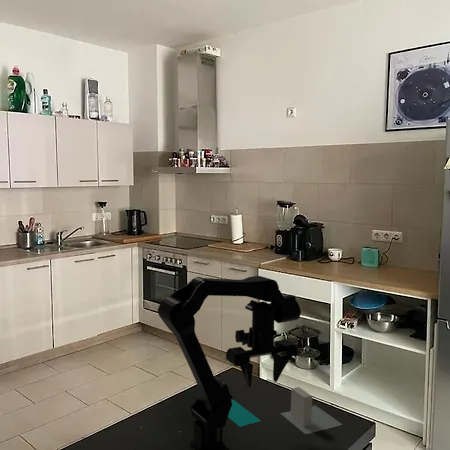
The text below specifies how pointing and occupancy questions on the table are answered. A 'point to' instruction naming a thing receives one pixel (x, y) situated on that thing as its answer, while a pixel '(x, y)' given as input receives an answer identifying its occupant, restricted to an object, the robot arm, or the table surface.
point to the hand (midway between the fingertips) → (262, 384)
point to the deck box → (301, 406)
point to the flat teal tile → (241, 415)
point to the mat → (314, 421)
